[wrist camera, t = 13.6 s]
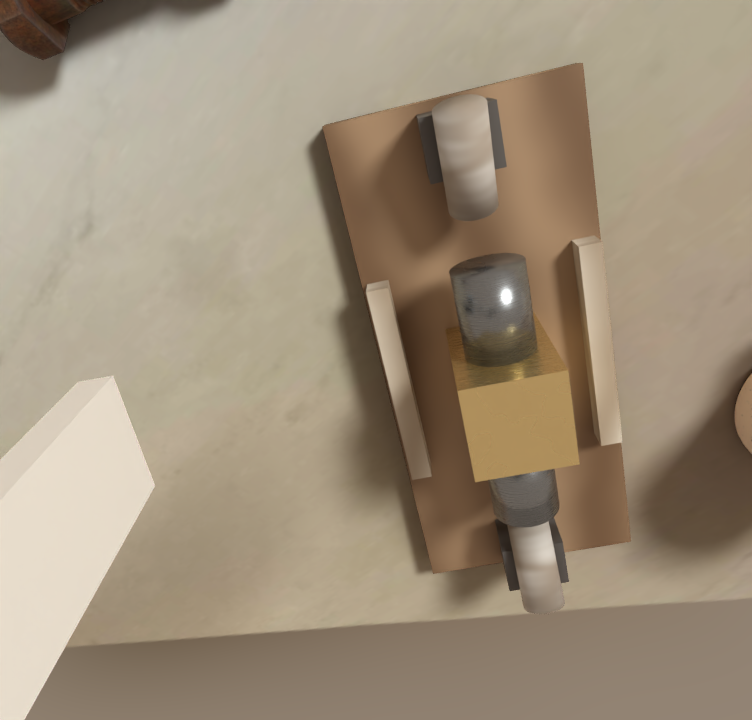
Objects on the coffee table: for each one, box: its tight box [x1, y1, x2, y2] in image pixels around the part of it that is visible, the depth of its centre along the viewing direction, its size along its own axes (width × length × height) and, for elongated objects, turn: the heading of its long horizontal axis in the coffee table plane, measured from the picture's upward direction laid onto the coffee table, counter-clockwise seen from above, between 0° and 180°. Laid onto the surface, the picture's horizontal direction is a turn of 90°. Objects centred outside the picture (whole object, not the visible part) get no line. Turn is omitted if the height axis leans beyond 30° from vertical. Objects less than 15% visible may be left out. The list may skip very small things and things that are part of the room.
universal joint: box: [445, 253, 580, 527], centre depth 34 cm, size 5×14×8 cm, turn 13°
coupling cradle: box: [323, 63, 631, 614], centre depth 36 cm, size 13×29×7 cm, turn 13°
